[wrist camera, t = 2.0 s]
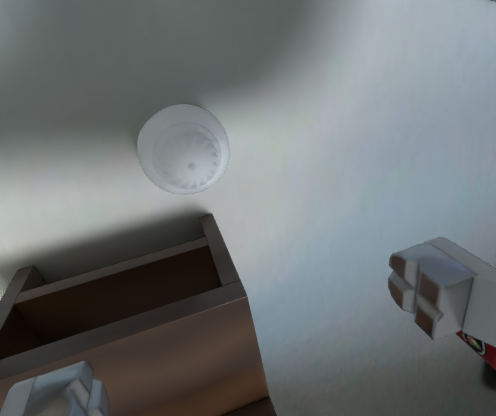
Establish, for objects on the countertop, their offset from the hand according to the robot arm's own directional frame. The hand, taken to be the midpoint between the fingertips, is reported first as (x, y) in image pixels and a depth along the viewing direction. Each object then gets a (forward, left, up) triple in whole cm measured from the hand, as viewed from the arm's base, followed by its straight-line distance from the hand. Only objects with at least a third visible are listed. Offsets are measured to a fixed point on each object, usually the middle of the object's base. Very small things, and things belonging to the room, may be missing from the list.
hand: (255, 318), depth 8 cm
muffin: (0, 0, -19) cm, 19 cm away
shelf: (+12, -7, -19) cm, 24 cm away
